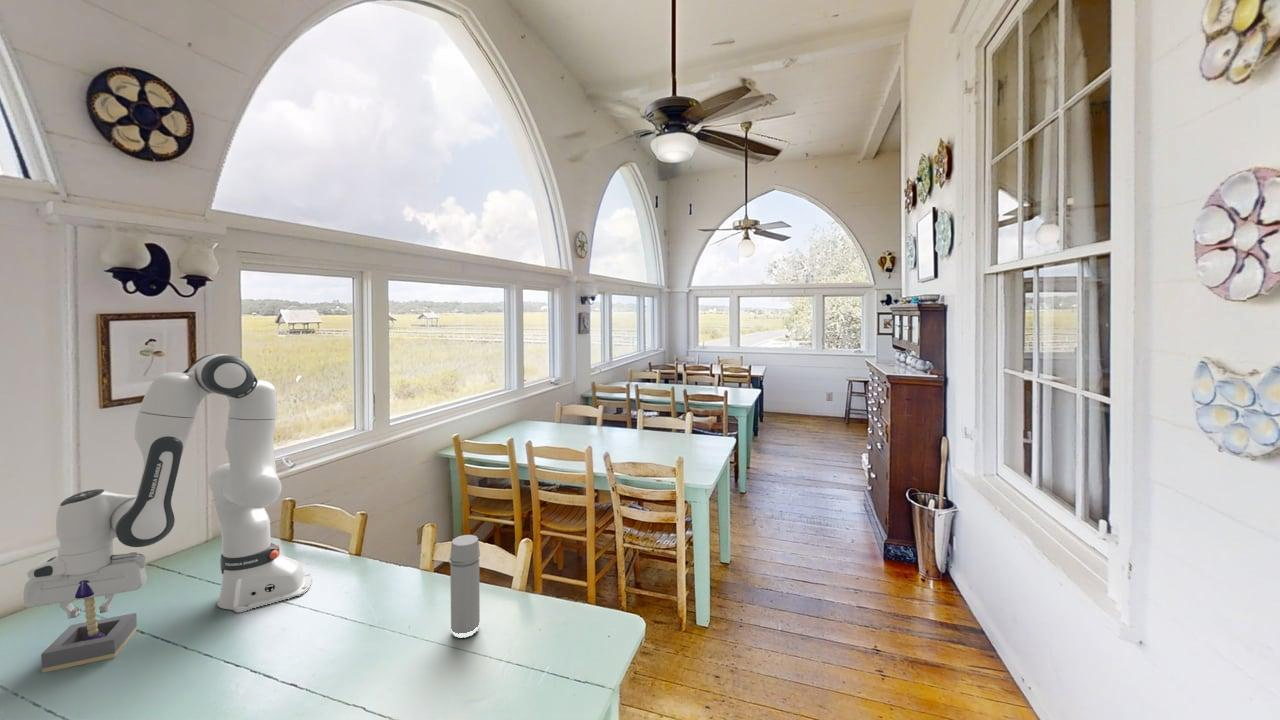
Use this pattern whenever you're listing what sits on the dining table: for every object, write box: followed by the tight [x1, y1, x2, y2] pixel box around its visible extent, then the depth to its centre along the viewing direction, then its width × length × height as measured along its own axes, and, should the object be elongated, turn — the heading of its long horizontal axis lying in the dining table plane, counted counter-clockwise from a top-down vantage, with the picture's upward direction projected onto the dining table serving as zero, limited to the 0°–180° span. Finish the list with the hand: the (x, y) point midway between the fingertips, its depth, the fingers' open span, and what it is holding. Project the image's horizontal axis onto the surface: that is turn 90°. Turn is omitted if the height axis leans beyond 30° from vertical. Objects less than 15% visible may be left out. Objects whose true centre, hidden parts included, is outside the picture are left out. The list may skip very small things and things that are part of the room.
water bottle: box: [447, 534, 481, 634], centre depth 130 cm, size 9×8×25 cm
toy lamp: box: [75, 580, 106, 641], centre depth 119 cm, size 5×5×17 cm
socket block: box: [40, 612, 138, 673], centre depth 120 cm, size 12×12×4 cm
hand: (89, 614), depth 120 cm, fingers closed on toy lamp, 4 cm apart
